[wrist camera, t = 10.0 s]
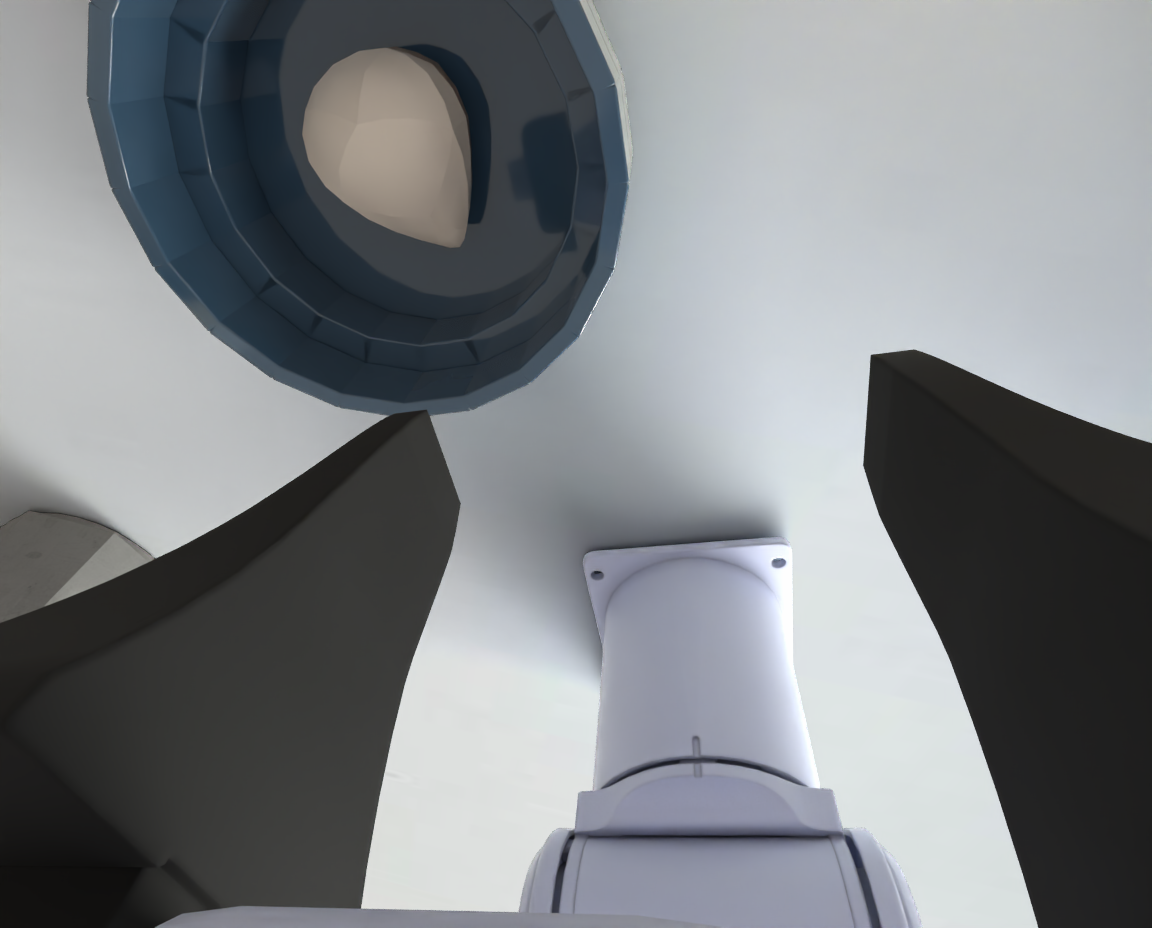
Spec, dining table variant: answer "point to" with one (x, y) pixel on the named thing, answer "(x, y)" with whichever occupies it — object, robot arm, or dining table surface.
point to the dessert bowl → (339, 233)
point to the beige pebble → (393, 143)
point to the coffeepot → (58, 560)
